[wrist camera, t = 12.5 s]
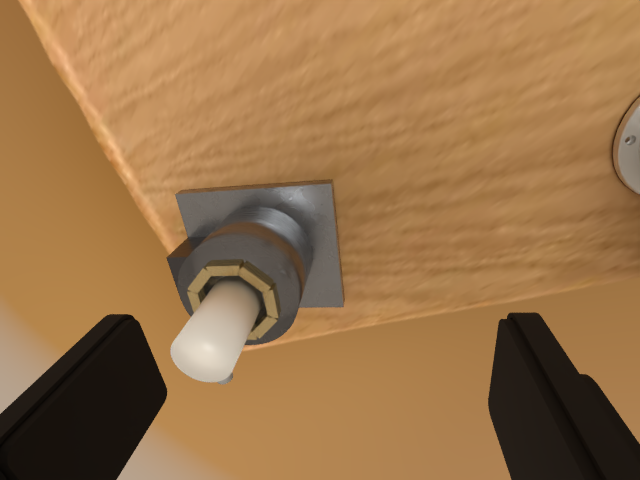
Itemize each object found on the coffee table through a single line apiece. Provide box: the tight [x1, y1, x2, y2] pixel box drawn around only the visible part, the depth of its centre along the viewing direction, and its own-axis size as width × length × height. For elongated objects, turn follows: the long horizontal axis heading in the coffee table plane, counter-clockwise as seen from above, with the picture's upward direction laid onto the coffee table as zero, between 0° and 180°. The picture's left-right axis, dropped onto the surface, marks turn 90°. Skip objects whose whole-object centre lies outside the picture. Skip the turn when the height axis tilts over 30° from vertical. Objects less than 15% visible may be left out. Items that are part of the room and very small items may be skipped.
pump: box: [171, 276, 263, 384], centre depth 31 cm, size 5×7×8 cm
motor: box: [167, 180, 344, 345], centre depth 38 cm, size 18×16×12 cm
